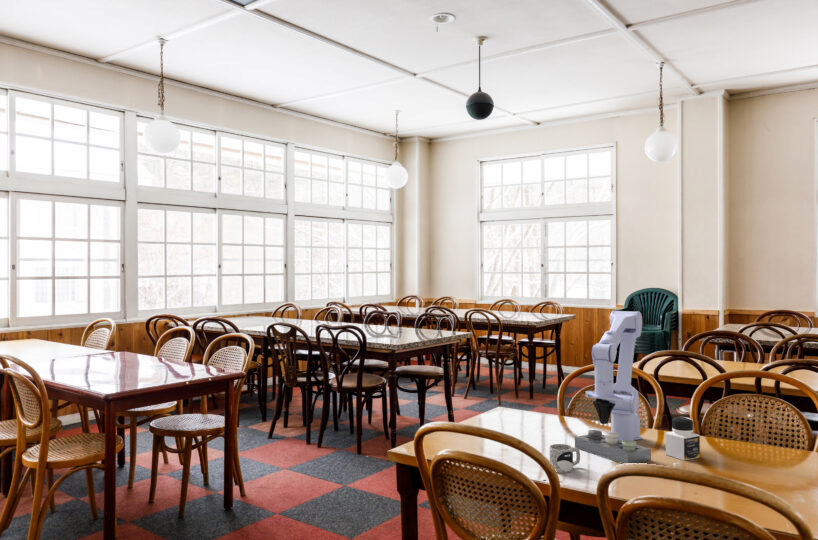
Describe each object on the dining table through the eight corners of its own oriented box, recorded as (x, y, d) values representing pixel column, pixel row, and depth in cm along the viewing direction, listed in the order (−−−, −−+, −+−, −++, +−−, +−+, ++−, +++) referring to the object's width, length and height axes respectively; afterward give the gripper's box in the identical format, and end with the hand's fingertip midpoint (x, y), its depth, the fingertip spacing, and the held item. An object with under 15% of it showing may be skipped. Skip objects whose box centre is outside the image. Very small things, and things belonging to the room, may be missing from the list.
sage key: (628, 451, 197) (628, 439, 197) (639, 455, 193) (639, 442, 193) (618, 453, 195) (618, 440, 195) (629, 457, 191) (629, 444, 191)
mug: (558, 474, 180) (558, 451, 180) (545, 468, 186) (544, 445, 186) (587, 470, 184) (587, 447, 184) (572, 463, 190) (572, 441, 190)
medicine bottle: (684, 461, 192) (684, 421, 192) (665, 455, 198) (665, 416, 198) (700, 457, 195) (700, 419, 195) (680, 451, 202) (680, 414, 202)
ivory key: (611, 443, 203) (611, 430, 203) (621, 446, 199) (621, 433, 199) (601, 445, 201) (601, 432, 201) (611, 448, 197) (611, 435, 197)
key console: (597, 443, 212) (597, 432, 212) (651, 460, 193) (650, 449, 193) (574, 447, 207) (574, 436, 207) (628, 465, 188) (627, 453, 188)
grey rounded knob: (594, 441, 209) (594, 429, 209) (604, 444, 205) (604, 432, 205) (585, 443, 207) (585, 431, 207) (595, 446, 203) (595, 433, 203)
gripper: (578, 378, 207) (578, 420, 207) (612, 385, 194) (612, 429, 194) (594, 377, 210) (594, 417, 210) (628, 383, 198) (628, 427, 198)
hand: (604, 423), depth 202 cm, fingers closed
